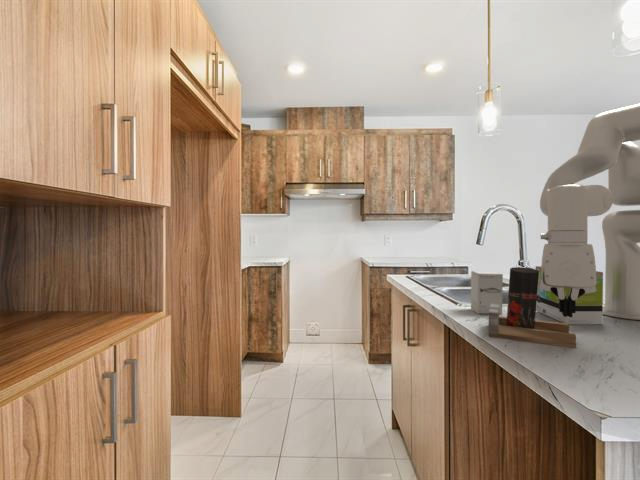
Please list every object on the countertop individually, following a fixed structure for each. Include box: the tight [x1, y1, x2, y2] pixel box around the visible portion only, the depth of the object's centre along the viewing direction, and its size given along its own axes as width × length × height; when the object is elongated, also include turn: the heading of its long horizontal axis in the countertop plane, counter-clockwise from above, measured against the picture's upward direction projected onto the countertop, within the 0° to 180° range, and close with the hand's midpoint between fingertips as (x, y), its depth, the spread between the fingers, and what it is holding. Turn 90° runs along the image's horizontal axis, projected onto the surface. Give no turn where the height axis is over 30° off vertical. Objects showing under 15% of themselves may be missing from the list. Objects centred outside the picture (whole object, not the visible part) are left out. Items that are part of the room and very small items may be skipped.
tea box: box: [535, 265, 604, 325], centre depth 98 cm, size 15×10×15 cm, turn 177°
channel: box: [488, 303, 577, 349], centre depth 82 cm, size 12×17×6 cm
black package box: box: [506, 266, 539, 329], centre depth 81 cm, size 6×6×15 cm
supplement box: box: [470, 270, 504, 316], centre depth 106 cm, size 7×7×13 cm
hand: (567, 315), depth 79 cm, fingers closed
